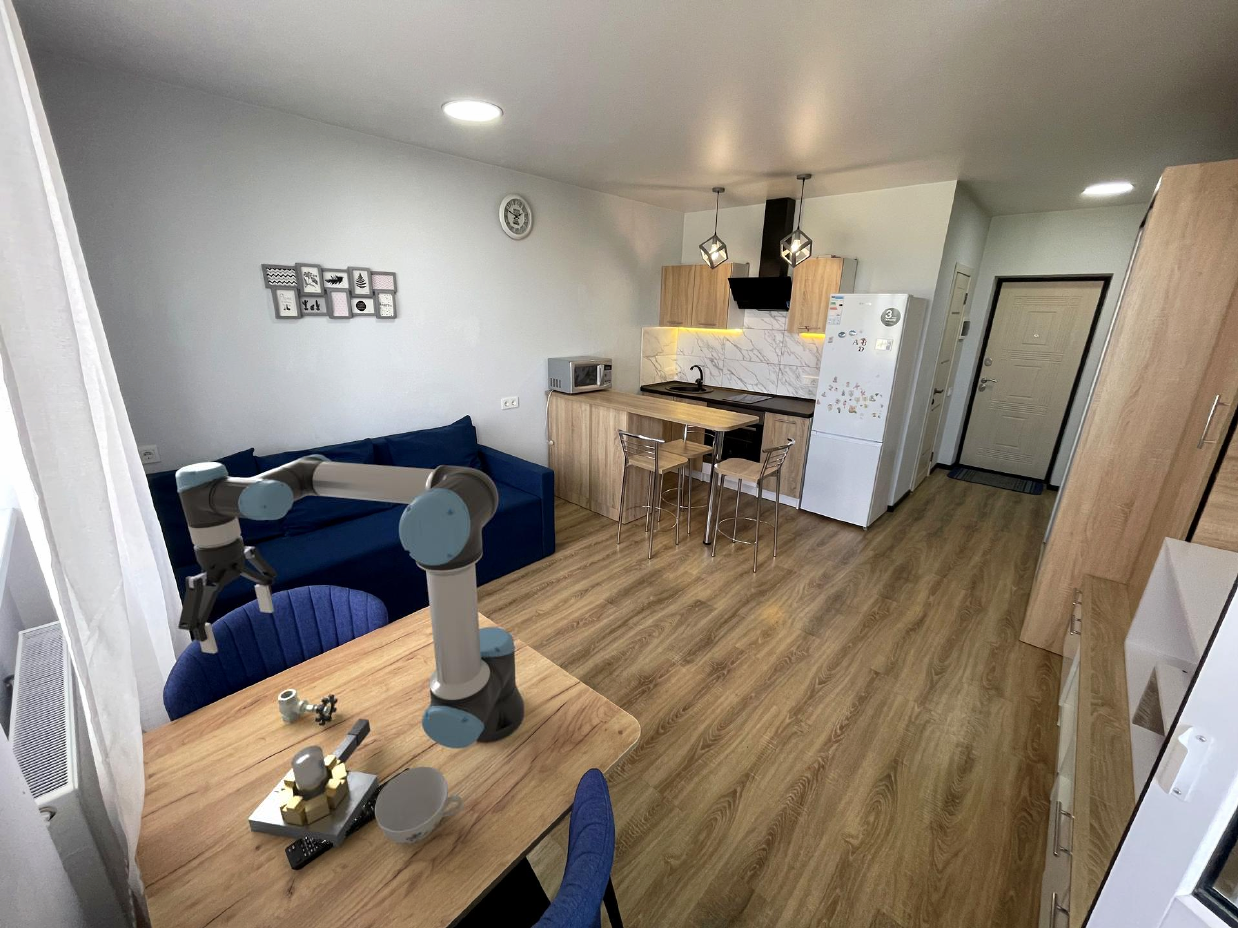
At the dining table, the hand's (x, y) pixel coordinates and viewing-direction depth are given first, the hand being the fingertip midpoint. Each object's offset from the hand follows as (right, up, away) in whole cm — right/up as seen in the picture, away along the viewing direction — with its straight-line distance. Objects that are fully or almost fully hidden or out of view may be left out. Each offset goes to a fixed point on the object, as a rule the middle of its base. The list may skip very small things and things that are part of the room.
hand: (240, 630), depth 103 cm
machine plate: (+21, -32, -7) cm, 39 cm away
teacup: (+43, -34, -10) cm, 56 cm away
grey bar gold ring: (+22, -28, -4) cm, 36 cm away
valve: (+6, -26, +13) cm, 29 cm away
